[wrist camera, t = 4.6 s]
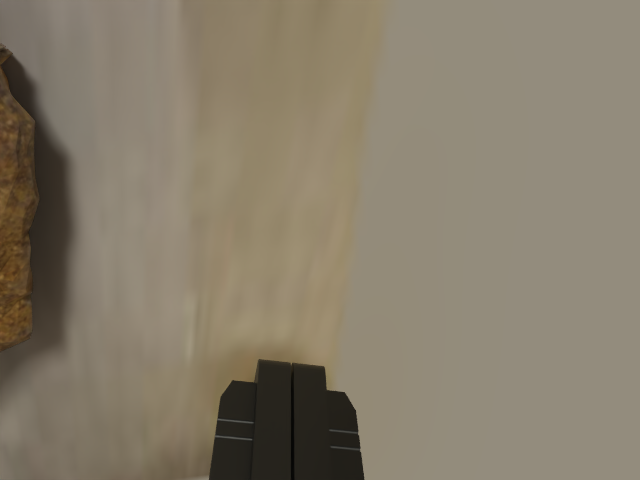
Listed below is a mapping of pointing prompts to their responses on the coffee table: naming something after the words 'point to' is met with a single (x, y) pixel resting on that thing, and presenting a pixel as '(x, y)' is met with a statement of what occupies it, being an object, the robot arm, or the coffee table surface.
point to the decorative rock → (15, 214)
